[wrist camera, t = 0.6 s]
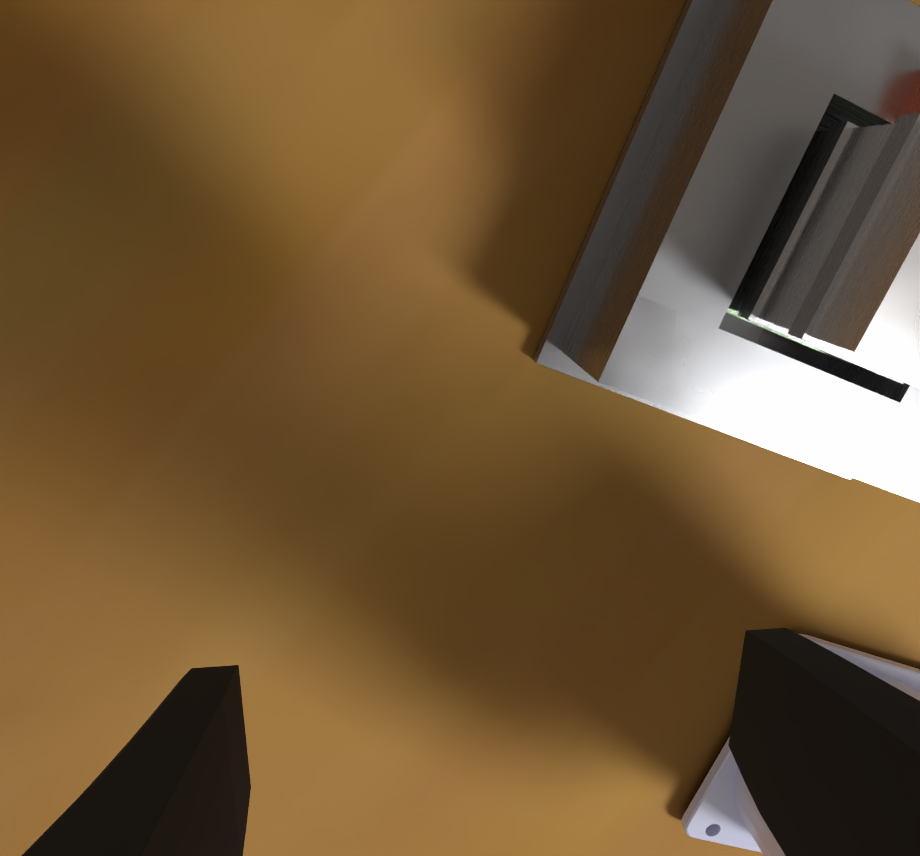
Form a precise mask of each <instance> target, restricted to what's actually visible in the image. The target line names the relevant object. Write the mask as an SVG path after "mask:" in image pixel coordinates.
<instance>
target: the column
mask: <svg viewBox="0 0 920 856" xmlns="http://www.w3.org/2000/svg"><path fill="white" fill-rule="evenodd" d="M726 313H728V314H730V315H732V316H735V317H737V318H740V319H742V320H744V321H747V322H749V323H751V324H754V325H756V326H759V327H761V328H763V329H766V330H768V331H771V332H773V333H775V334H778V335H780V336H783V337H785V338H787V339H790V340H792V341H795V342H797V343H799V344H802V345H804V346H807V347H809V348H811V349H814V350H816V351H818V352H821V353H823V354H826V355H828V356H830V357H833V358H835V359H838V360H841V361H843V362H846V363H849V364H851V363H852V364H855V365H857V366H859V367H862V368H864V369H866V370H869V371H871V372H874V373H876V374H878V375H881V376H883V377H886V378H888V379H891V380H893V381H896V382H898V383H901V384H904V383H906V384H908V385H911V386H913V387H915V388H918V389H920V113H914V114H905V115H900V117H899V119H898V121H897V123H896V124H886V125H876V126H866V127H859V126H857V125H855V124H853V123H851V122H849V121H843V122H834V123H832V125H831V127H830V129H829V130H825V131H815V133H814V135H813V137H812V139H811V141H810V143H809V145H808V147H807V149H806V151H805V153H804V155H803V157H802V159H801V161H800V164H799V166H798V168H797V170H796V172H795V174H794V176H793V178H792V180H791V182H790V184H789V186H788V188H787V190H786V192H785V194H784V196H783V198H782V200H781V202H780V204H779V206H778V208H777V210H776V212H775V214H774V216H773V218H772V220H771V222H770V224H769V226H768V229H767V231H766V233H765V235H764V237H763V239H762V241H761V243H760V245H759V247H758V249H757V251H756V253H755V255H754V257H753V259H752V261H751V263H750V265H749V267H748V269H747V271H746V273H745V275H744V277H743V279H742V281H741V283H740V285H739V287H738V289H737V291H736V294H735V296H734V298H733V300H732V302H731V304H730V306H729V308H728V310H727V312H726Z"/></svg>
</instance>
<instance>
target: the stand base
mask: <svg viewBox="0 0 920 856" xmlns="http://www.w3.org/2000/svg"><path fill="white" fill-rule="evenodd" d="M914 113H920V7H919V6H917V5H915V4H914V3H912V2H910V1H909V0H687V1H686V3H685V6H684V8H683V10H682V13H681V15H680V17H679V20H678V22H677V24H676V27H675V29H674V31H673V34H672V36H671V38H670V41H669V43H668V45H667V48H666V50H665V52H664V55H663V57H662V59H661V62H660V64H659V66H658V69H657V71H656V73H655V76H654V78H653V80H652V83H651V85H650V87H649V90H648V92H647V94H646V97H645V99H644V101H643V104H642V106H641V108H640V111H639V113H638V115H637V118H636V120H635V122H634V125H633V127H632V129H631V132H630V134H629V136H628V139H627V141H626V143H625V146H624V148H623V150H622V153H621V155H620V157H619V160H618V162H617V164H616V167H615V169H614V171H613V174H612V176H611V178H610V181H609V183H608V185H607V188H606V190H605V192H604V195H603V197H602V199H601V202H600V204H599V206H598V209H597V211H596V213H595V216H594V218H593V220H592V223H591V225H590V227H589V230H588V232H587V234H586V237H585V239H584V241H583V244H582V246H581V248H580V251H579V253H578V255H577V258H576V260H575V262H574V265H573V267H572V269H571V272H570V274H569V276H568V279H567V281H566V283H565V286H564V288H563V290H562V293H561V295H560V297H559V300H558V302H557V304H556V307H555V309H554V311H553V314H552V316H551V318H550V321H549V323H548V325H547V328H546V330H545V332H544V335H543V337H542V339H541V342H540V344H539V346H538V349H537V351H536V353H535V356H534V358H533V360H534V361H535V362H536V363H538V364H541V365H543V366H546V367H549V368H551V369H554V370H557V371H559V372H562V373H565V374H567V375H570V376H573V377H575V378H578V379H581V380H584V381H586V382H589V383H592V384H594V385H597V386H600V387H602V388H605V389H608V390H610V391H613V392H616V393H618V394H621V395H624V396H626V397H629V398H632V399H635V400H637V401H640V402H643V403H645V404H648V405H651V406H653V407H656V408H659V409H661V410H664V411H667V412H669V413H672V414H675V415H678V416H680V417H683V418H686V419H688V420H691V421H694V422H696V423H699V424H702V425H704V426H707V427H710V428H712V429H715V430H718V431H721V432H723V433H726V434H729V435H731V436H734V437H737V438H739V439H742V440H745V441H747V442H750V443H753V444H755V445H758V446H761V447H764V448H766V449H769V450H772V451H774V452H777V453H780V454H782V455H785V456H788V457H790V458H793V459H796V460H798V461H801V462H804V463H806V464H809V465H812V466H815V467H817V468H820V469H823V470H825V471H828V472H831V473H833V474H836V475H839V476H841V477H844V478H847V479H849V480H851V478H852V477H853V478H855V479H858V480H861V481H863V482H866V483H869V484H871V485H874V486H877V487H879V488H882V489H885V490H887V491H890V492H893V493H895V494H898V495H901V496H904V497H906V498H909V499H912V500H914V501H917V502H920V389H918V388H915V387H913V386H911V385H908V384H906V383H904V384H901V383H898V382H896V381H893V380H891V379H888V378H886V377H883V376H881V375H878V374H876V373H874V372H871V371H869V370H866V369H864V368H862V367H859V366H857V365H855V364H852V363H851V364H849V363H846V362H843V361H841V360H838V359H835V358H833V357H830V356H828V355H826V354H823V353H821V352H818V351H816V350H814V349H811V348H809V347H807V346H804V345H802V344H799V343H797V342H795V341H792V340H790V339H787V338H785V337H783V336H780V335H778V334H775V333H773V332H771V331H768V330H766V329H763V328H761V327H759V326H756V325H754V324H751V323H749V322H747V321H744V320H742V319H740V318H737V317H735V316H732V315H730V314H728V313H726V312H727V310H728V308H729V306H730V304H731V302H732V300H733V298H734V296H735V294H736V291H737V289H738V287H739V285H740V283H741V281H742V279H743V277H744V275H745V273H746V271H747V269H748V267H749V265H750V263H751V261H752V259H753V257H754V255H755V253H756V251H757V249H758V247H759V245H760V243H761V241H762V239H763V237H764V235H765V233H766V231H767V229H768V226H769V224H770V222H771V220H772V218H773V216H774V214H775V212H776V210H777V208H778V206H779V204H780V202H781V200H782V198H783V196H784V194H785V192H786V190H787V188H788V186H789V184H790V182H791V180H792V178H793V176H794V174H795V172H796V170H797V168H798V166H799V164H800V161H801V159H802V157H803V155H804V153H805V151H806V149H807V147H808V145H809V143H810V141H811V139H812V137H813V135H814V133H815V131H825V130H829V129H830V127H831V125H832V123H834V122H843V121H849V122H851V123H853V124H855V125H857V126H859V127H866V126H876V125H886V124H896V123H897V121H898V119H899V117H900V115H905V114H914Z"/></svg>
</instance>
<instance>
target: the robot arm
mask: <svg viewBox="0 0 920 856" xmlns="http://www.w3.org/2000/svg"><path fill="white" fill-rule="evenodd" d="M250 790H251V784H250V774H249V765H248V755H247V745H246V735H245V725H244V716H243V706H242V696H241V686H240V676H239V666H238V665H234V666H220V667H205V668H192V669H191V670H190V671H189V672H188V673H187V674H186V675H185V676H184V677H183V678H182V679H181V680H180V681H179V682H178V684H177V685H176V686H175V687H174V688H173V690H172V691H171V692H170V693H169V695H168V696H167V697H166V698H165V699H164V701H163V702H162V703H161V704H160V705H159V707H158V708H157V709H156V710H155V711H154V713H153V714H152V715H151V716H150V717H149V719H148V720H147V721H146V722H145V723H144V724H143V726H142V727H141V728H140V729H139V730H138V732H137V733H136V734H135V735H134V736H133V737H132V739H131V740H130V741H129V742H128V743H127V744H126V745H125V747H124V748H123V749H122V750H121V751H120V752H119V753H118V754H117V756H116V757H115V758H114V759H113V760H112V761H111V762H110V763H109V765H108V766H107V767H106V768H105V769H104V770H103V771H102V772H101V774H100V775H99V776H98V777H97V778H96V779H95V780H94V781H93V782H92V784H91V785H90V786H89V787H88V788H87V789H86V790H85V791H84V792H83V793H82V794H81V795H80V797H79V798H78V799H77V800H76V801H75V802H74V803H73V804H72V805H71V806H70V807H69V808H68V809H67V810H66V811H65V812H64V813H63V814H62V815H61V816H60V817H59V818H58V819H57V820H56V821H55V822H54V823H53V824H52V825H51V826H50V827H49V828H48V829H47V830H46V831H45V832H44V833H43V835H42V836H41V837H40V838H39V839H38V840H37V841H36V842H35V843H34V844H33V845H32V846H31V847H30V848H29V849H28V850H27V851H26V852H25V853H24V854H23V855H22V856H243V848H244V840H245V833H246V824H247V816H248V807H249V798H250ZM682 826H683V828H684V830H685V832H686V833H687V834H688V836H690V837H693V838H697V839H702V840H706V841H711V842H716V843H720V844H725V845H730V846H734V847H739V848H743V849H748V850H753V851H757V852H762V853H763V855H764V856H920V669H917V668H914V667H911V666H907V665H904V664H901V663H898V662H894V661H891V660H888V659H884V658H881V657H878V656H875V655H871V654H868V653H865V652H861V651H858V650H855V649H852V648H848V647H845V646H842V645H839V644H835V643H832V642H829V641H825V640H822V639H819V638H816V637H812V636H809V635H806V634H797V633H795V632H793V631H791V630H789V629H786V628H777V629H762V630H748V631H746V632H745V639H744V645H743V652H742V659H741V665H740V672H739V678H738V685H737V692H736V698H735V705H734V711H733V718H732V724H731V731H730V737H729V738H728V740H727V742H726V743H725V745H724V747H723V749H722V750H721V752H720V754H719V755H718V757H717V759H716V760H715V762H714V764H713V766H712V767H711V769H710V771H709V772H708V774H707V776H706V778H705V779H704V781H703V783H702V784H701V786H700V788H699V790H698V791H697V793H696V795H695V796H694V798H693V800H692V802H691V803H690V805H689V807H688V808H687V810H686V812H685V814H684V815H683V818H682Z"/></svg>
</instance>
